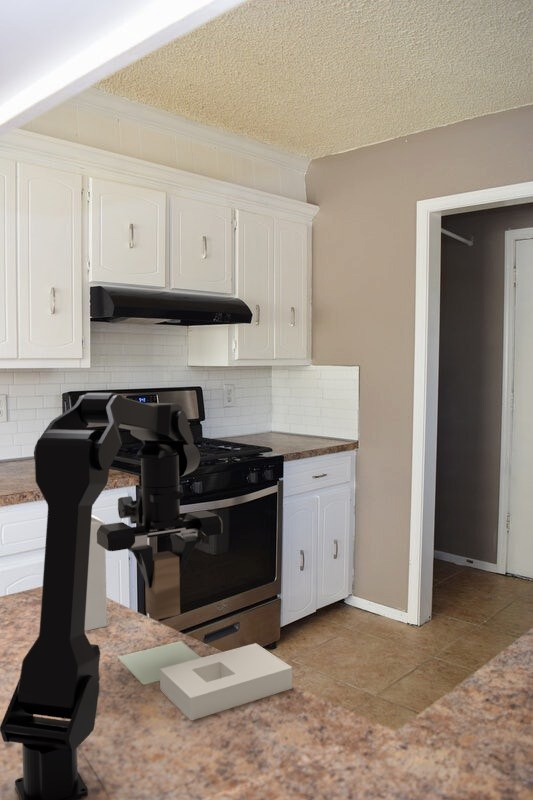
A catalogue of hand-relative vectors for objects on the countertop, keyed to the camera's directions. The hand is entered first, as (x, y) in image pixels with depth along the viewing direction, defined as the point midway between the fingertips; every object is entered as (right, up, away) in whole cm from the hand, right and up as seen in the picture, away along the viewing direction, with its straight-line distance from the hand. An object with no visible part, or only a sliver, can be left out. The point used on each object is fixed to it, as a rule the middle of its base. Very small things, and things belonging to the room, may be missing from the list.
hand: (162, 584), depth 105 cm
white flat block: (+10, -13, -8) cm, 19 cm away
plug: (0, -5, 0) cm, 4 cm away
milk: (-16, -12, +18) cm, 27 cm away
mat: (0, -13, +1) cm, 13 cm away
